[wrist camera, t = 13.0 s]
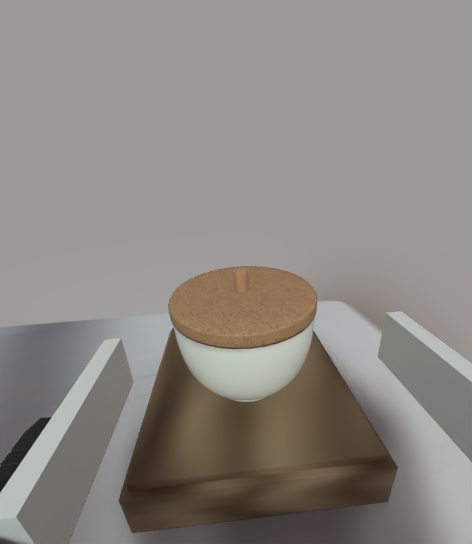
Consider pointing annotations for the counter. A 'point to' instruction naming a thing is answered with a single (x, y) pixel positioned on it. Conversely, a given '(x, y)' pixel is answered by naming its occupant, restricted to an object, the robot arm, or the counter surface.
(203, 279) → the lidded jar
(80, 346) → the counter surface
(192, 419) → the walnut stand
